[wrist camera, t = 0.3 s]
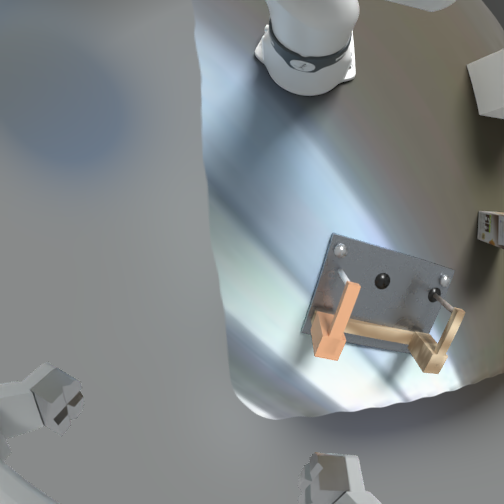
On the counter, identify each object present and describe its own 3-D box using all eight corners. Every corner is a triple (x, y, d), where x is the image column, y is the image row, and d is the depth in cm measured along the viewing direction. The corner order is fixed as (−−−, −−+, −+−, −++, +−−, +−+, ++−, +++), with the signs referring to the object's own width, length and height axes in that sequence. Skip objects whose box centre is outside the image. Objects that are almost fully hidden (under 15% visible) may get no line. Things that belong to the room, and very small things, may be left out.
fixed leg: (330, 261, 51) (342, 281, 40) (443, 292, 50) (468, 313, 39) (309, 324, 54) (314, 355, 44) (418, 346, 53) (438, 373, 42)
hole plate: (332, 232, 51) (334, 234, 49) (451, 269, 50) (457, 272, 47) (301, 329, 56) (302, 334, 54) (416, 351, 55) (420, 356, 52)
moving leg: (331, 263, 50) (342, 282, 40) (352, 268, 50) (367, 288, 40) (310, 327, 53) (314, 356, 43) (329, 331, 53) (337, 360, 43)
